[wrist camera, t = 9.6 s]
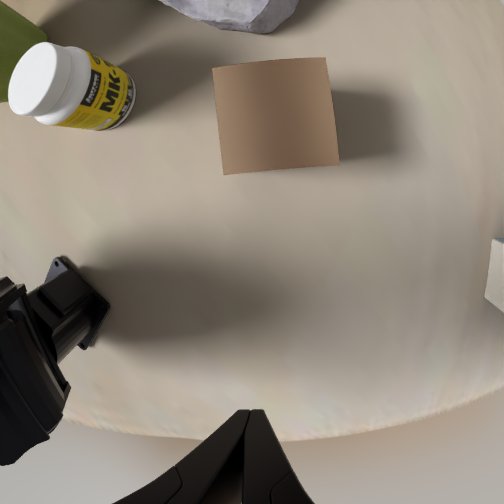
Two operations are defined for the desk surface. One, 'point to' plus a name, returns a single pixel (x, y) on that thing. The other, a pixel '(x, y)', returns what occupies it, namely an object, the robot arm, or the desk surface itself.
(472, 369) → the desk surface
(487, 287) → the slate block
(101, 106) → the supplement bottle
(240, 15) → the stone block
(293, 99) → the walnut block
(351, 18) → the desk surface
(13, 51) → the plant pot
